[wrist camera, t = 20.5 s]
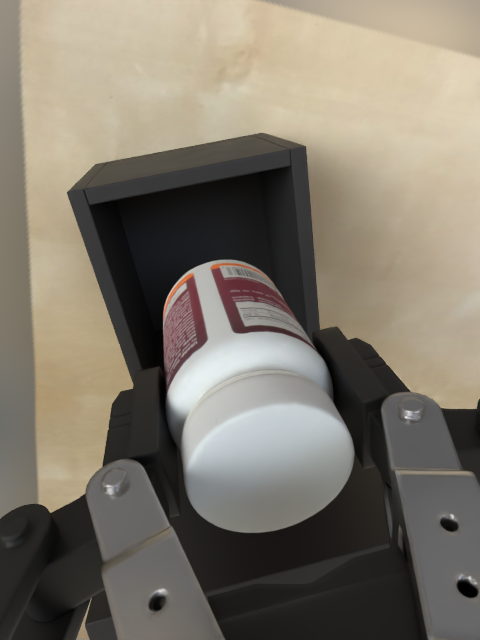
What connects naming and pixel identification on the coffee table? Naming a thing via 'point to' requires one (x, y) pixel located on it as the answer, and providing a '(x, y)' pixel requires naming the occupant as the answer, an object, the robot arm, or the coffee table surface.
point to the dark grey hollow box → (195, 229)
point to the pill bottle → (249, 402)
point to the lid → (272, 545)
